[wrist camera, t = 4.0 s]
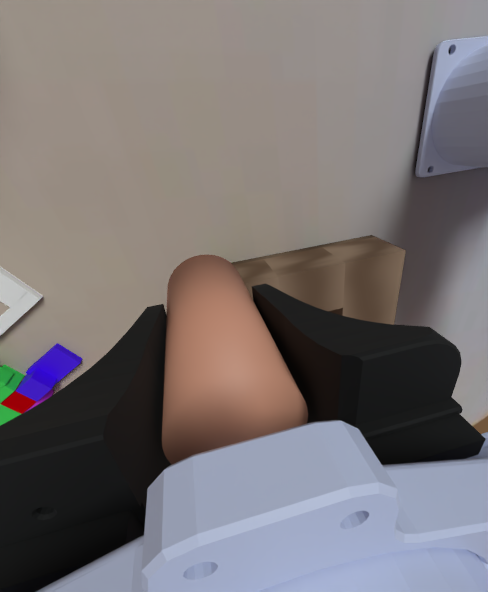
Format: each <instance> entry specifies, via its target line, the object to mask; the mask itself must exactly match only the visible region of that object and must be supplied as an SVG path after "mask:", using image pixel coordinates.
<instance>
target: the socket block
mask: <svg viewBox="0 0 488 592" xmlns="http://www.w3.org/2000/svg"><path fill="white" fill-rule="evenodd" d="M405 252H406V250H404V249H401V248H399V247H397V246H395V245H392V244H390V243H388V242H386V241H383V240H381V239H379V238H377V237H375V236H372V235H370V236H365V237H360V238H355V239H350V240H345V241H340V242H335V243H330V244H325V245H320V246H314V247H309V248H304V249H299V250H294V251H289V252H284V253H279V254H274V255H269V256H264V257H259V258H254V259H249V260H244V261H238V262H233V263H231V264H232V265H233V266H234V267H235V268H236V269H237V270H238V272H239V274H240V276H241V278H242V280H243V282H244V284H245V286H246V288H247V290H248V291H249V293H250V295H251V297H252V299H253V294H252V286H256V285H261V284H268V285H270V286H272V287H274V288H276V289H278V290H280V291H282V292H284V293H286V294H288V295H290V296H292V297H294V298H296V299H298V300H300V301H302V302H304V303H307V304H309V305H312V306H314V307H317V308H319V309H322V310H325V311H328V312H332V313H335V314H338V315H342V316H346V317H350V318H355V319H359V320H364V321H370V322H377V323H384V324H392V325H394V321H395V315H396V309H397V302H398V296H399V290H400V284H401V277H402V271H403V265H404V259H405Z"/></svg>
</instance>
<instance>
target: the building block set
mask: <svg viewBox="0 0 488 592" xmlns="http://www.w3.org/2000/svg"><path fill="white" fill-rule="evenodd" d="M42 297H43V295H41V294H40V293H39V292H37V291H36V290H34V289H33V288H31V287H30V286H28V285H27V284H25V283H24V282H22V281H21V280H19V279H18V278H17V277H15V276H14V275H12V274H11V273H9V272H8V271H6V270H5V269H3V268H2V267H1V266H0V301H1V302H2V303H4V304H5V305H7V306H9V307H10V308H9V309H8V310H7V311H6V312H4V313H3V314H2V315H1V316H0V335H1V334H3V333H4V332H5V331H6V330H7V329H8V328H9V327H10V326H11V325H12V324H14V323H15V322H16V321H17V320H18V319H19V318H20V317H21V316H22V315H23V314H25V313H26V312H27V311H28V310H29V309H30V308H31V307H32V306H33V305H34V304H36V303H37V302H38V301H39V300H40V299H41V298H42ZM81 360H82V358H80V357H79V356H77V355H76V354H74V353H72V352H71V351H69V350H67V349H66V348H64V347H63V346H61V345H59V344H58V343H57V344H56V345H55V346H54V347H53V348H51V349H50V350H49V351H48V352H47V353H46V354H44V355H43V356H42V357H41V358H40V359H39V360H38V361H36V362H35V363H34V364H33V365H32V366H31V367H30V368H29V369H28V370H27V372H26V373H27V375H26V376H25V375H23V374H21V373H19V372H17V371H15V370H14V369H12V368H10V367H8V366H6V365H3V366H2V367H0V426H1V425H2V424H4V423H6V422H8V421H10V420H12V419H13V418H15V417H17V416H19V415H21V414H23V413H25V412H26V411H28V410H30V409H31V408H33V407H35V406H36V405H38V404H40V403H41V402H43V401H45V400H46V399H48V398H49V397H51V396H52V394H53V392H54V391H53V390H51V389H52V387H53V386H54V385H55V384H56V383H57V382H59V381H60V380H61V379H62V378H63V377H64V376H66V375H67V374H68V373H69V372H70V371H72V370H73V369H74V368H75V367H76V366H77V365H79V364H80V363H81Z"/></svg>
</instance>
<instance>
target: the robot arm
mask: <svg viewBox="0 0 488 592" xmlns="http://www.w3.org/2000/svg"><path fill="white" fill-rule="evenodd" d="M449 47H450V48H451V51H450V54H449V53H448V50H449ZM429 167H430V169H429V171H428V168H429ZM481 167H488V36H484V37H474V38H464V39H455V40H446V41H443V42H441V43H439V44H438V45H437V46H436V48H435V50H434V55H433V61H432V68H431V74H430V81H429V87H428V93H427V100H426V106H425V113H424V119H423V126H422V132H421V138H420V145H419V151H418V158H417V164H416V171H415V174H416V176H417V177H429V176H435V175H441V174H446V173H452V172H458V171H464V170H470V169H475V168H481ZM252 294H253V301H254V303H255V305H256V307H257V309H258V311H259V313H260V315H261V317H262V319H263V321H264V323H265V324H266V326H267V328H268V330H269V332H270V334H271V336H272V338H273V340H274V342H275V344H276V346H277V348H278V350H279V352H280V354H281V355H282V357H283V359H284V361H285V363H286V365H287V367H288V369H289V371H290V373H291V375H292V377H293V379H294V381H295V383H296V385H297V387H298V388H299V390H300V392H301V394H302V396H303V398H304V400H305V402H306V405H307V409H308V421H307V424H304V425H300V426H297V427H293V428H289V429H286V430H282V431H279V432H275V433H271V434H268V435H264V436H260V437H257V438H253V439H249V440H246V441H242V442H238V443H235V444H231V445H227V446H224V447H220V448H217V449H213V450H209V451H206V452H202V453H198V454H195V455H192V456H190V457H188V458H185V459H183V460H181V461H179V462H177V463H174V464H171V463H170V462H169V461H168V460H167V458H166V456H165V454H164V451H163V448H162V421H163V395H164V369H165V343H166V318H167V316H166V312H165V309H164V305H163V304H161V305H156V306H151V307H147V308H146V309H145V311H144V312H143V313H142V314H141V316H140V317H139V318H138V319H137V321H136V322H135V323H134V324H133V326H132V327H131V328H130V329H129V330H128V332H127V333H126V334H125V335H124V336H123V337H122V338H121V339H120V340H119V341H118V343H117V344H116V345H115V346H114V347H113V348H112V349H111V350H110V351H109V352H108V353H107V354H106V355H105V356H104V357H103V358H101V359H100V360H99V361H98V362H97V363H96V364H95V365H93V366H92V367H91V368H90V369H89V370H87V371H86V372H85V373H83V374H82V375H81V376H79V377H78V378H77V379H75V380H74V381H73V382H71V383H70V384H69V385H67V386H66V387H65V388H63V389H62V390H60V391H59V392H57V393H56V394H54V395H53V396H51V397H49V398H48V399H46V400H45V401H43V402H41V403H40V404H38V405H36V406H35V407H33V408H31V409H30V410H28V411H26V412H25V413H23V414H21V415H19V416H17V417H15V418H13V419H12V420H10V421H8V422H6V423H4V424H2V425H1V426H0V592H488V432H487V433H483V434H480V433H479V432H478V431H477V430H476V429H475V428H474V427H473V426H471V425H470V424H469V423H468V422H467V421H466V420H465V419H464V418H463V417H462V416H461V415H460V413H461V412H462V407H461V406H460V405H459V404H458V403H457V402H456V401H455V400H454V399H453V398H452V397H451V396H452V393H453V390H454V387H455V384H456V381H457V378H458V376H459V372H460V367H461V356H460V352H459V350H458V349H457V347H456V346H455V345H454V344H452V343H451V342H450V341H448V340H447V339H445V338H444V337H443V336H441V335H440V334H438V333H437V332H436V331H434V330H433V329H431V328H430V327H421V326H405V325H392V324H384V323H377V322H370V321H364V320H359V319H355V318H350V317H346V316H342V315H338V314H335V313H332V312H328V311H325V310H322V309H319V308H317V307H314V306H312V305H309V304H307V303H304V302H302V301H300V300H298V299H296V298H294V297H292V296H290V295H288V294H286V293H284V292H282V291H280V290H278V289H276V288H274V287H272V286H270V285H268V284H261V285H256V286H252Z"/></svg>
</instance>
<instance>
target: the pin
mask: <svg viewBox="0 0 488 592" xmlns="http://www.w3.org/2000/svg"><path fill="white" fill-rule="evenodd" d="M307 421H308V409H307V405H306V402H305V400H304V398H303V396H302V394H301V392H300V390H299V388H298V387H297V385H296V383H295V381H294V379H293V377H292V375H291V373H290V371H289V369H288V367H287V365H286V363H285V361H284V359H283V357H282V355H281V354H280V352H279V350H278V348H277V346H276V344H275V342H274V340H273V338H272V336H271V334H270V332H269V330H268V328H267V326H266V324H265V323H264V321H263V319H262V317H261V315H260V313H259V311H258V309H257V307H256V305H255V303H254V301H253V299H252V297H251V295H250V293H249V291H248V290H247V288H246V286H245V284H244V282H243V280H242V278H241V276H240V274H239V272H238V270H237V269H236V268H235V267H234V266H233V265H232V264H231V263H230V262H229V261H227V260H226V259H224V258H221V257H219V256H215V255H198V256H194V257H192V258H189V259H187V260H185V261H184V262H182V263H181V264H180V265H179V266H178V267H177V268H176V269H175V270H174V271H173V273H172V275H171V277H170V279H169V283H168V292H167V318H166V343H165V369H164V395H163V421H162V448H163V451H164V454H165V456H166V458H167V460H168V461H169V462H170V463H171V464H174V463H177V462H179V461H181V460H183V459H185V458H188V457H190V456H192V455H195V454H198V453H202V452H206V451H209V450H213V449H217V448H220V447H224V446H227V445H231V444H235V443H238V442H242V441H246V440H249V439H253V438H257V437H260V436H264V435H268V434H271V433H275V432H279V431H282V430H286V429H289V428H293V427H297V426H300V425H304V424H307Z"/></svg>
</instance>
